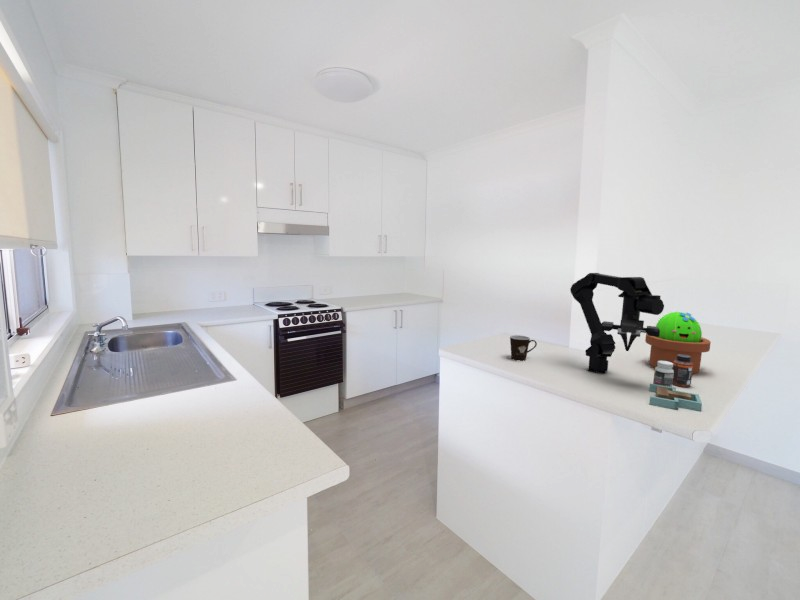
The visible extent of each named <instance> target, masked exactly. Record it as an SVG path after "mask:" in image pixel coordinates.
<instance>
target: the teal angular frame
mask: <svg viewBox="0 0 800 600" xmlns="http://www.w3.org/2000/svg"><path fill="white" fill-rule="evenodd" d="M657 386H661V387H667V388H668V390H669V391H674V392H680V393H685V394H690V395H691V400H685V399H680V398H674V400H669V399H664V398H659V397H656V396H652V395H649V405H652V406H656V405H657V407H661V406H662V408H667V409H671V410H677V411H679V408H681V409H688V410H694V411H699V412H701V411H702V408H703V407H702V406H703V403H702V400H701V398H700V395H699V394H697V393H692V392H688V391H687V392H686V391H680V390H677V387H673V386H672V387H668V386H662V385H656V384H653V383H650V382H649V387H648V388H649V389H648V391H649V392H653V393H656V391H657Z"/></svg>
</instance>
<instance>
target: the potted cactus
mask: <svg viewBox="0 0 800 600" xmlns="http://www.w3.org/2000/svg"><path fill="white" fill-rule="evenodd" d="M699 323H700V322H698V320H697V319H696V318H694V317H693V315H692V314H691V313H689V312H682V311H681V312H680V311H675V312H673V311H670V312H668V313H667V314H664V315H662V317H660V318H659V320H658V322H656V325H655V324H654V326H655V327H658V328H659V329H660V334H659V337H655V336H649V335H648V334H647V333H645V340H644V342H645V344H647V345H649V346H650V354H649V359H648V360H649V365H650V366H651V367H653V368H654V369H655V368H656V367H658V365H657V362H658V361H668V362H671V363H673V362H674V360H676V359H677V355H679V354H682V355H688V356H690V357H691V360H690V361H691V362H692V363H693V371H692V375H695V374H698V373H699V372H700V371H701V362H702V353H707V352H710V349H711V341H710V340H709V339H707V338H705V337H703V331H702V328H701V323H700V324H699ZM672 369H673V367H672Z"/></svg>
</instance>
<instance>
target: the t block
mask: <svg viewBox="0 0 800 600" xmlns="http://www.w3.org/2000/svg"><path fill="white" fill-rule="evenodd" d="M655 395H656V396H655V397H659V398H664V399H669V400H674V398H680V399H685V400H691V395H690V394H685V393H680V392H674V391H669V390H668V388H667V387H661V386H657V391H656V392H655Z"/></svg>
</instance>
